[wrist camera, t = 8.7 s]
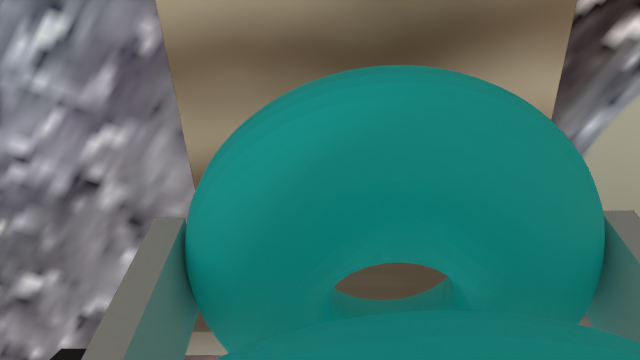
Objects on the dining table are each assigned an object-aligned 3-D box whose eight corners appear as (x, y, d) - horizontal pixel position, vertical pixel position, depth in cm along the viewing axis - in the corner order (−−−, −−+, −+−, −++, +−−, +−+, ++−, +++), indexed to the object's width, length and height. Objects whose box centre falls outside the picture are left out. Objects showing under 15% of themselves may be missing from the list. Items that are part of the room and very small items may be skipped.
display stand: (495, 152, 37) (603, 354, 22) (226, 158, 38) (151, 355, 23) (548, -181, 26) (830, -240, 11) (174, -160, 28) (-32, -188, 12)
